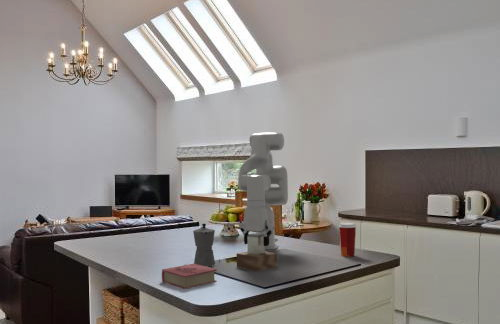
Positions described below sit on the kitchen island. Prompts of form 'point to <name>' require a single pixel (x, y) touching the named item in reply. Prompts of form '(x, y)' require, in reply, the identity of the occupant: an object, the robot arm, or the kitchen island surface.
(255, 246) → the tea tin
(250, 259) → the walnut box
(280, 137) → the robot arm
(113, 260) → the kitchen island surface
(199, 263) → the coffeepot
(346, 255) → the coffee cup
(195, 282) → the book
